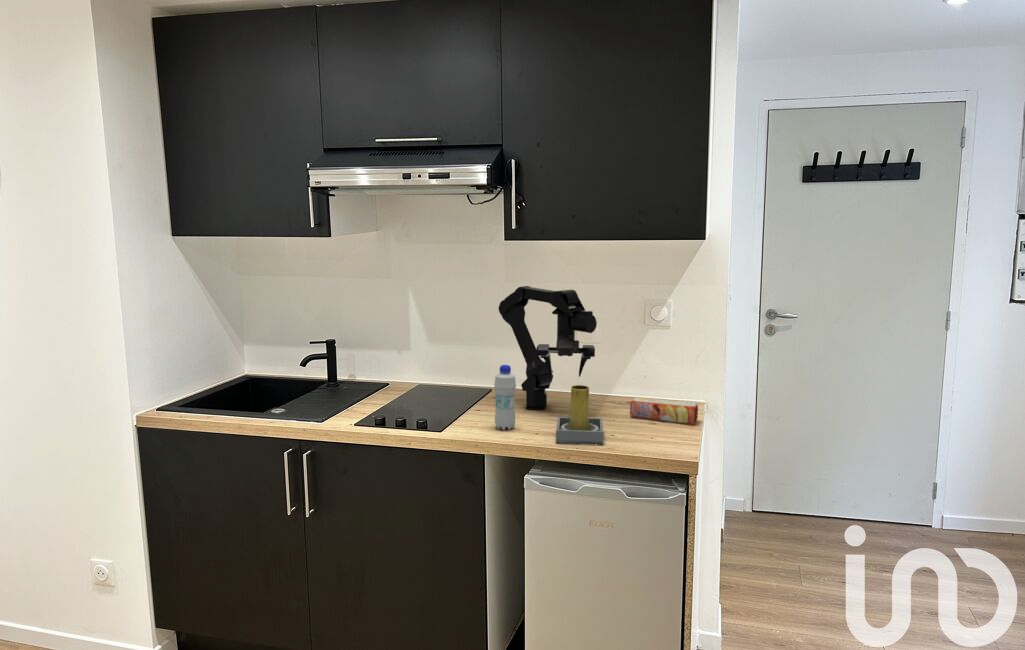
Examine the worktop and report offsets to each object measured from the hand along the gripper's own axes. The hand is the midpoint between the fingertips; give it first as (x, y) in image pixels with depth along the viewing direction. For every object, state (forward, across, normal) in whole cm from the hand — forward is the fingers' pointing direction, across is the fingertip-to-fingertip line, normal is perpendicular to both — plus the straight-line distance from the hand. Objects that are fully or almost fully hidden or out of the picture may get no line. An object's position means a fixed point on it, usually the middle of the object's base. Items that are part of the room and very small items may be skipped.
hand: (565, 376), depth 245 cm
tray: (+13, +5, -22) cm, 26 cm away
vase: (+12, +5, -22) cm, 26 cm away
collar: (+13, +5, -22) cm, 26 cm away
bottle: (+13, -18, -16) cm, 27 cm away
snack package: (+14, +32, -2) cm, 35 cm away
